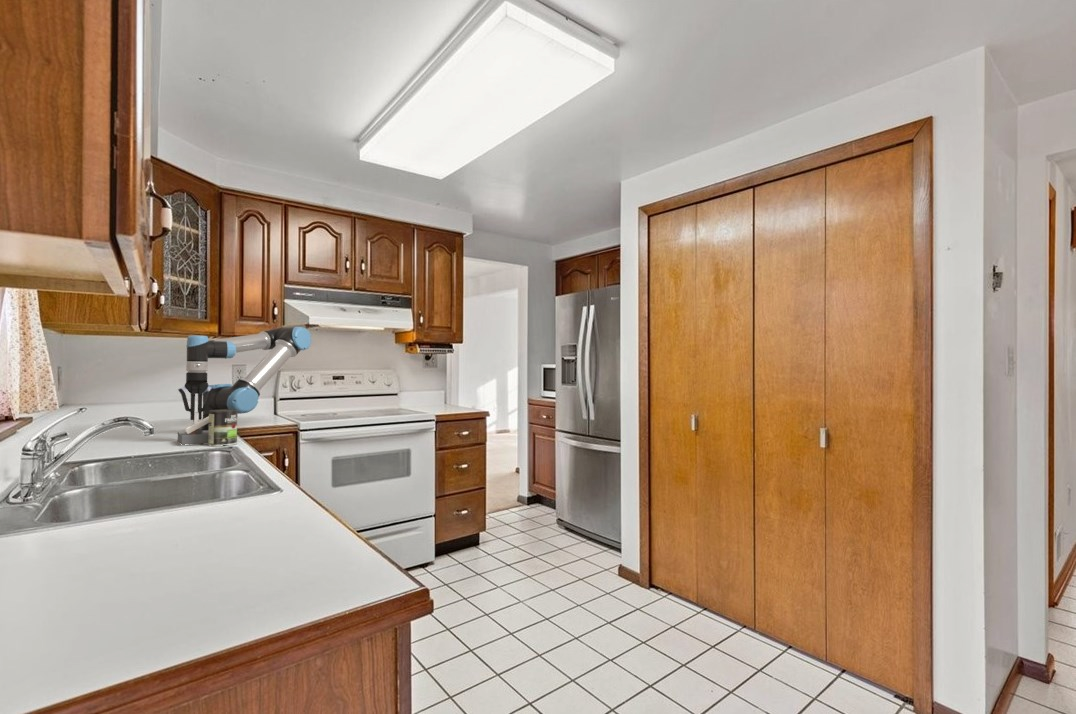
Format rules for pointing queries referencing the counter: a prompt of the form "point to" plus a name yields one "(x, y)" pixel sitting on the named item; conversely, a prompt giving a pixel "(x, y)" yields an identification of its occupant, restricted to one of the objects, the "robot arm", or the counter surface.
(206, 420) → the bar
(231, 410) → the coffee can
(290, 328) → the robot arm
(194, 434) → the box
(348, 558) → the counter surface
